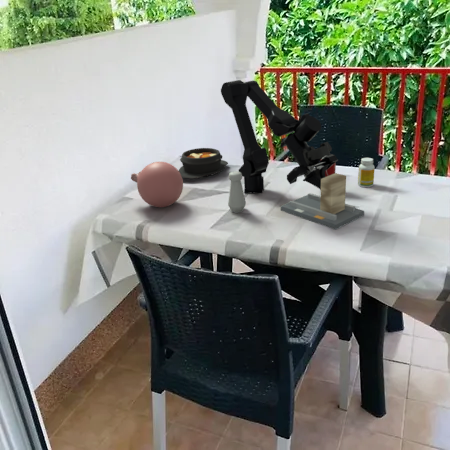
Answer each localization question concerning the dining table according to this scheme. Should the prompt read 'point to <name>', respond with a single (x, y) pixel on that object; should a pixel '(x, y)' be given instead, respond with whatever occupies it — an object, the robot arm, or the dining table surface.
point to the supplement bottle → (366, 173)
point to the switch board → (321, 212)
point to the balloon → (159, 184)
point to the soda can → (330, 170)
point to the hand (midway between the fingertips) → (327, 191)
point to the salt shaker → (236, 193)
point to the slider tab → (333, 193)
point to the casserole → (201, 163)
